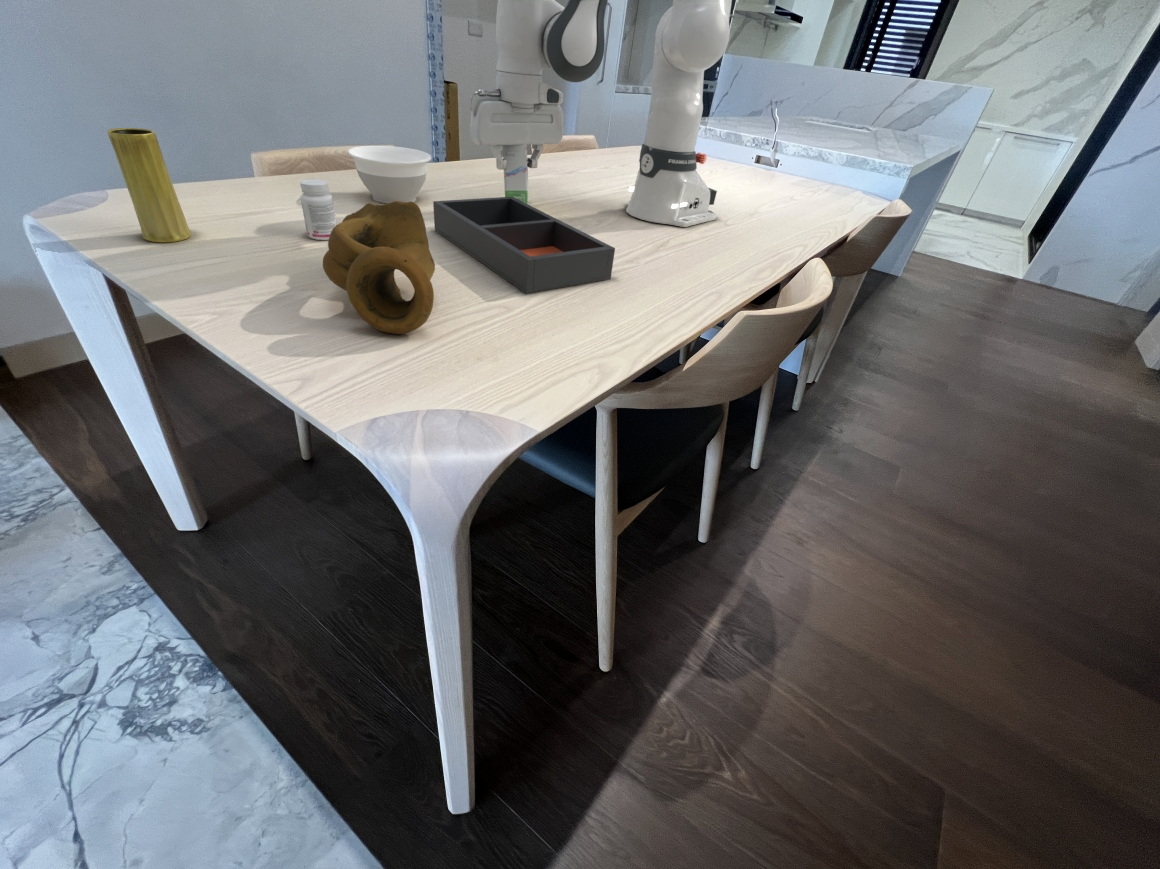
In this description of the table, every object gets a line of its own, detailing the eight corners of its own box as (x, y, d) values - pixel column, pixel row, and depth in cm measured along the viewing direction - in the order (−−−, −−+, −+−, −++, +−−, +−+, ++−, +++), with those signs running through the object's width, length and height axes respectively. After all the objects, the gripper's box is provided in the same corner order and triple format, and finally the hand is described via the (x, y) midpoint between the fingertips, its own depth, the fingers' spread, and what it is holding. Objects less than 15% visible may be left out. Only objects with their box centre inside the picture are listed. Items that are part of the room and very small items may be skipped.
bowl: (423, 212, 106) (420, 165, 101) (342, 203, 105) (334, 155, 100) (441, 194, 118) (439, 151, 113) (368, 185, 118) (363, 142, 112)
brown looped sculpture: (480, 225, 78) (449, 247, 59) (452, 306, 84) (416, 350, 64) (355, 168, 74) (278, 171, 55) (334, 256, 80) (258, 287, 60)
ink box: (506, 199, 120) (502, 140, 114) (529, 199, 121) (526, 140, 115) (505, 204, 113) (500, 141, 107) (529, 204, 113) (526, 141, 107)
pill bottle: (345, 236, 90) (336, 182, 85) (323, 242, 86) (313, 187, 81) (323, 229, 91) (314, 176, 86) (301, 236, 88) (290, 181, 83)
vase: (197, 239, 82) (164, 134, 73) (150, 245, 78) (109, 135, 69) (183, 228, 85) (150, 126, 76) (137, 233, 81) (97, 127, 73)
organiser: (511, 223, 106) (512, 196, 103) (610, 279, 87) (615, 248, 84) (434, 230, 98) (432, 201, 95) (526, 294, 79) (527, 259, 75)
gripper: (478, 90, 96) (480, 173, 104) (569, 94, 106) (564, 169, 115) (462, 86, 100) (465, 166, 108) (552, 90, 110) (548, 163, 119)
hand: (517, 168), depth 111 cm, fingers closed on ink box, 6 cm apart
